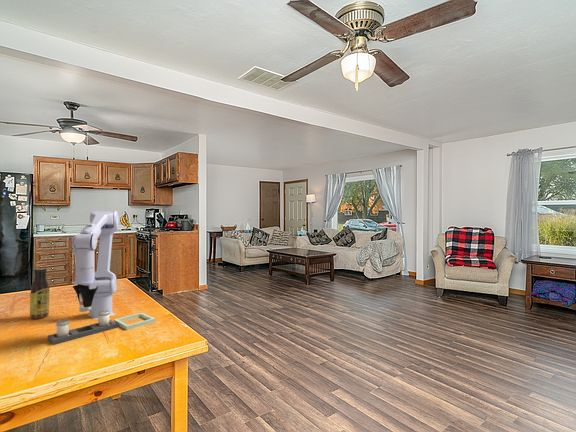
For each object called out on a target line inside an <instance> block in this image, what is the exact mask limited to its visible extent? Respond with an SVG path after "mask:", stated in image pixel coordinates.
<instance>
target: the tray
mask: <svg viewBox="0 0 576 432" xmlns="http://www.w3.org/2000/svg"><path fill="white" fill-rule="evenodd" d="M138 318H142V319H145V320H141V321H138V322H135V323H130V324H127V323H125V322H127V321H131V320H134V319H138ZM113 321H114V322H116V323H117V327H120V328H121V329H124V330H127V331H129V330H132V329H135V328H140V327H143V326H146V325H149V324H153V323H154V324H155V323H156V318H155V317H153V316H151V315H148V314H146V313H144V312H139V313H135V314H134V313H133V314H130V315H126V316H123V317H119V318H115V319H113Z"/></svg>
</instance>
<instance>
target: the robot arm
mask: <svg viewBox="0 0 576 432" xmlns="http://www.w3.org/2000/svg"><path fill="white" fill-rule="evenodd" d="M119 221H120V215H119V212H118V211H117V210H113V211H112V210H111V211H110V210H92V211H91V212H90V214H89V223H88V224H86V225H84V227H83V228H82V230H81V232H80V233H77V234H76V235H74V236H73V237H72V240H71V245H72V250H73V256H74V257H75V258H74V259H75V260H74V261H75V263H74V264H75V277H74V281H71V284H72V285H73V286H72V288H73V290H74V291H75V294H76V297H77V300H78V302H79V301H80V299H79V294H80V293H81V296H82V300H83V305H84V307H85V308H86V307H91V310H90V311H89V313H87V316H89V317H91V318H92V319H94V320H99V319H98V312H100V311H104V310H109V317H111V316H117V314H116V312H113V294H115V292H116V291H117V285H118V283H117V275H116V274H115V273H114V272H113V271H111V270H110V269H111V259H112V247H113V237H114V233H116V232H118V230H119ZM98 239H99V241H98ZM98 243H99V245H98ZM97 246H98V252H97V253H98V255H97V265H96V270H95V250H96V249H97Z"/></svg>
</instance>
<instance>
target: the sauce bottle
mask: <svg viewBox="0 0 576 432" xmlns="http://www.w3.org/2000/svg"><path fill="white" fill-rule="evenodd" d="M33 270H34V271H33V272H34V279H33V280H34V281H33V282H32V283H31V286H30V294H29V300H30V301H29V314H30V315H29V318H30V319H32V320H36V319H37V320H38V319H45V318H46V317H48V316H49V312H50V286H49V284H48V280H47V268H44V267H43V268H42V267H40V268H34V269H33Z"/></svg>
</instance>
